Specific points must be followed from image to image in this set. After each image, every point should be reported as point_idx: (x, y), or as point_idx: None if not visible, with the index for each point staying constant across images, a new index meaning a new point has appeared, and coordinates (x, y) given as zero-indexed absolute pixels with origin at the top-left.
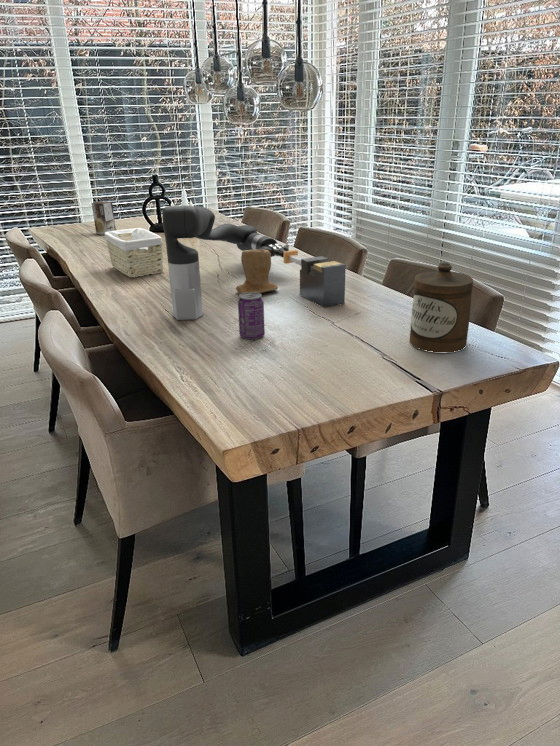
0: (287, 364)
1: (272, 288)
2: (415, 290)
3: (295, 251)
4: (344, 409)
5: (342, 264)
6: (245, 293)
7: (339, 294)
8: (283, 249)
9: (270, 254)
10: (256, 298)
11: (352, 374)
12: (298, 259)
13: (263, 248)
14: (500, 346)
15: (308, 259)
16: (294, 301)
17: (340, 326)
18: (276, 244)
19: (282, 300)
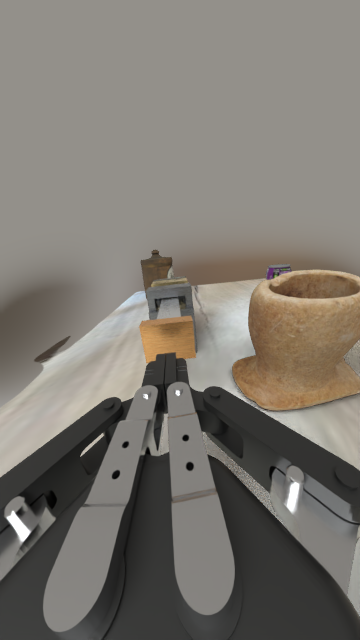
0: (250, 290)
1: (247, 357)
2: (170, 264)
3: (151, 321)
4: (232, 282)
5: (157, 279)
6: (285, 266)
7: None
8: (128, 408)
9: (229, 436)
10: (272, 265)
11: (219, 288)
12: (177, 308)
13: (303, 461)
14: (139, 295)
15: (180, 285)
16: (215, 339)
17: (198, 306)
18: (106, 504)
19: (233, 343)
